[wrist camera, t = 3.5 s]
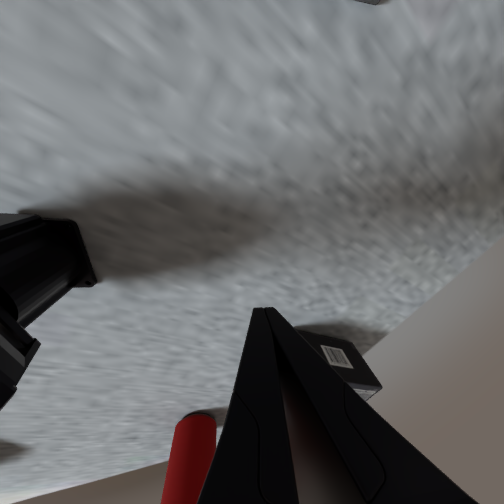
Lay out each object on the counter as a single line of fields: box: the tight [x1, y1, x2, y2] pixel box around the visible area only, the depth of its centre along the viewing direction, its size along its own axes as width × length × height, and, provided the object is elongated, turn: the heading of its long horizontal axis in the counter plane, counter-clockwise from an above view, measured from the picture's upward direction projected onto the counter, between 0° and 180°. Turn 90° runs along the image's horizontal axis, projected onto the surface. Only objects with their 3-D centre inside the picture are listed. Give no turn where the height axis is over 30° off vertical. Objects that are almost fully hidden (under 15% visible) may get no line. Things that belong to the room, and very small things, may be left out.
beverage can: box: [161, 413, 217, 504], centre depth 27 cm, size 7×7×12 cm
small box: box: [296, 330, 382, 401], centre depth 25 cm, size 11×6×10 cm
